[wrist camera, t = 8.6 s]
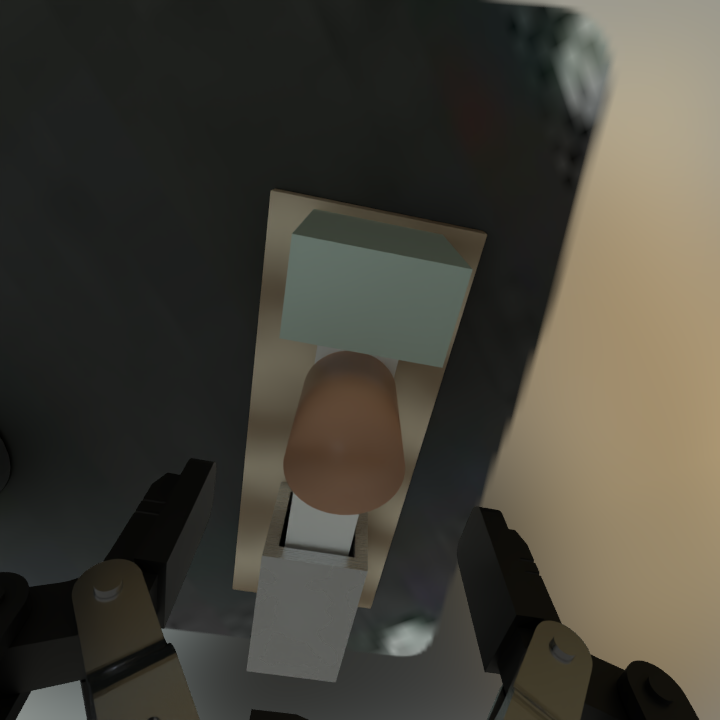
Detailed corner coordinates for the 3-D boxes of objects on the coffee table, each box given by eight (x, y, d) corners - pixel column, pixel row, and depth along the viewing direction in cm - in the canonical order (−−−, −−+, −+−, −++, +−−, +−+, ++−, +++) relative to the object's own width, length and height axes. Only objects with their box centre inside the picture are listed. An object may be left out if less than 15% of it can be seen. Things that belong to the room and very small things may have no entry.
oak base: (370, 595, 33) (370, 608, 32) (236, 576, 32) (232, 589, 31) (482, 230, 21) (487, 234, 20) (275, 188, 20) (270, 190, 19)
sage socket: (422, 309, 22) (442, 367, 16) (303, 287, 21) (279, 338, 16) (442, 234, 20) (472, 269, 14) (313, 208, 20) (291, 233, 14)
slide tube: (350, 528, 27) (343, 677, 19) (285, 519, 27) (253, 665, 19) (418, 258, 20) (449, 327, 12) (330, 240, 19) (306, 300, 12)
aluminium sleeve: (340, 599, 31) (335, 682, 27) (265, 589, 31) (246, 670, 26) (367, 495, 27) (367, 571, 22) (281, 481, 27) (261, 555, 22)
